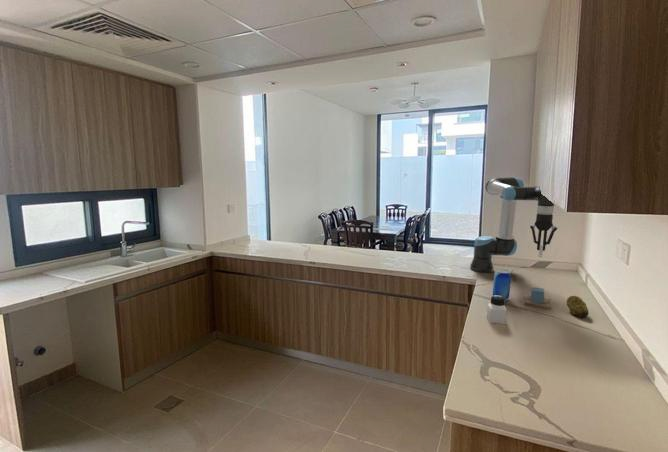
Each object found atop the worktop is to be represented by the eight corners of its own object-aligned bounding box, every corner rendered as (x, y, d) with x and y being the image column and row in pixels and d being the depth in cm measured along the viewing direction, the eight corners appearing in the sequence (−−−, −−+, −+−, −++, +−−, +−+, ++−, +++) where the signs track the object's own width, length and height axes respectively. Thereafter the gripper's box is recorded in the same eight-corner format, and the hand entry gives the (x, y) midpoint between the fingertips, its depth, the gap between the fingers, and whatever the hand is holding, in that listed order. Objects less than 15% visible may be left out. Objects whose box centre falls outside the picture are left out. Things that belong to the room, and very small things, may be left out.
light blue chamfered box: (530, 298, 197) (531, 287, 196) (542, 300, 195) (543, 288, 193) (531, 302, 192) (532, 290, 191) (543, 303, 190) (544, 292, 188)
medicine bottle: (505, 324, 168) (508, 300, 166) (489, 322, 170) (491, 299, 168) (502, 317, 175) (504, 294, 173) (486, 316, 177) (488, 293, 175)
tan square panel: (523, 297, 201) (524, 286, 200) (548, 300, 196) (549, 289, 195) (524, 304, 191) (525, 293, 190) (550, 308, 186) (551, 296, 185)
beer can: (505, 295, 203) (508, 268, 200) (511, 301, 195) (513, 273, 192) (490, 295, 204) (492, 268, 201) (495, 301, 196) (497, 273, 193)
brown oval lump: (568, 317, 176) (570, 301, 174) (564, 307, 187) (566, 293, 186) (588, 320, 172) (591, 304, 171) (583, 310, 184) (585, 295, 182)
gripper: (531, 213, 190) (527, 256, 195) (559, 215, 185) (554, 259, 189) (530, 211, 197) (526, 253, 201) (558, 213, 191) (553, 255, 196)
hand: (540, 256), depth 195 cm, fingers closed
